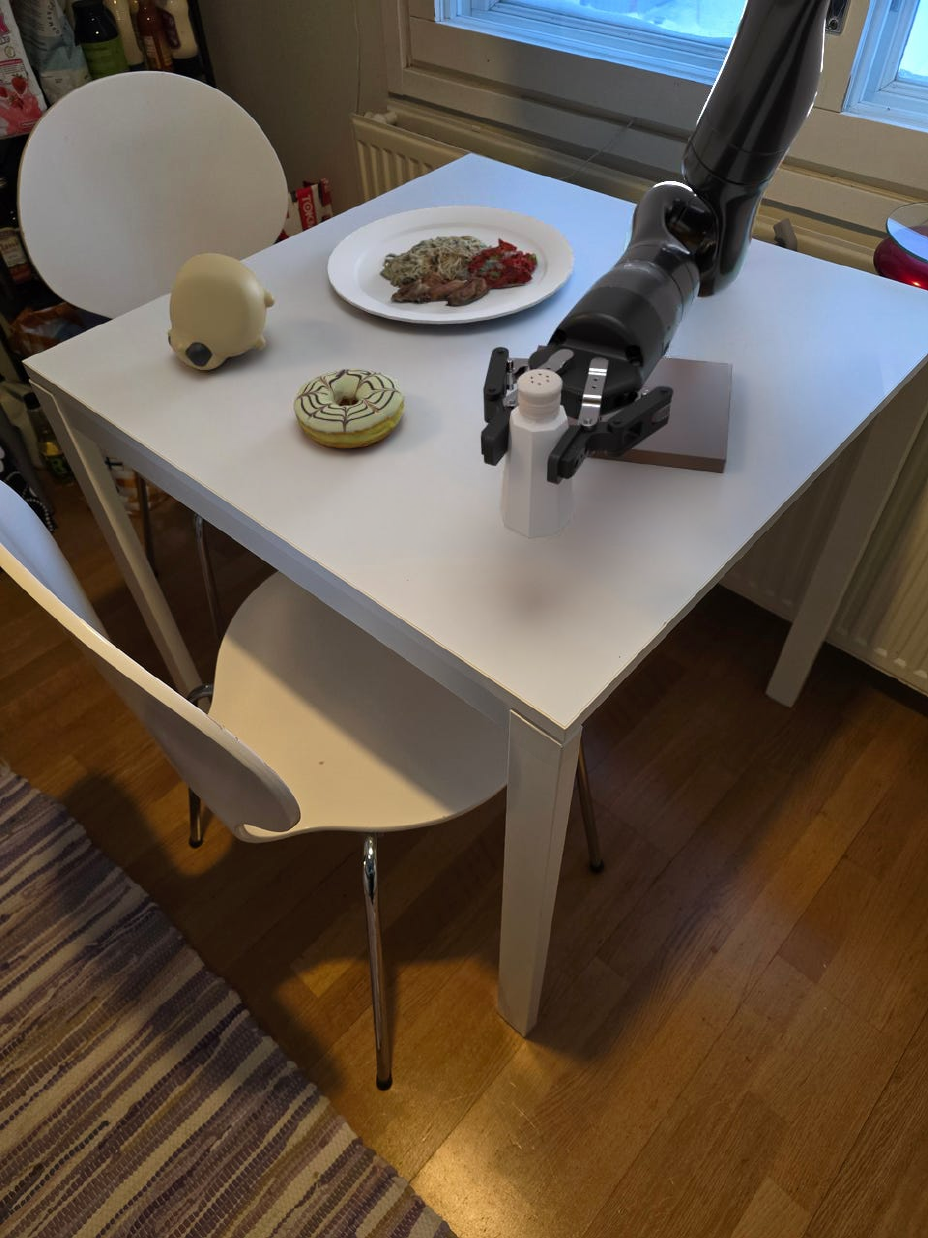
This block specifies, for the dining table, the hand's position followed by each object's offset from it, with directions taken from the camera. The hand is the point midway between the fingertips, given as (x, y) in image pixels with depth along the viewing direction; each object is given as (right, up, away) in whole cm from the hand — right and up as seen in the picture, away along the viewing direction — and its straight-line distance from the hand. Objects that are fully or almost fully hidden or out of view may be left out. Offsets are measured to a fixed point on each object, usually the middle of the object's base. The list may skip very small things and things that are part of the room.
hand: (520, 462), depth 53 cm
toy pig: (-30, +20, +40) cm, 54 cm away
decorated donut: (-15, +9, +30) cm, 35 cm away
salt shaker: (+2, -3, +7) cm, 7 cm away
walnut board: (+12, +11, +30) cm, 34 cm away
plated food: (-5, +33, +50) cm, 60 cm away
